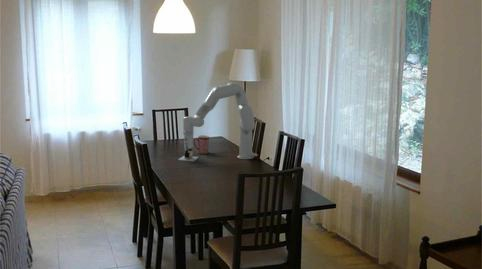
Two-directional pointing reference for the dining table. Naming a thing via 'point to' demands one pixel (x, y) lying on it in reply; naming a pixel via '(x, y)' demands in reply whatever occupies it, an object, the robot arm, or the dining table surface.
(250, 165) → the dining table surface
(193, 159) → the pad
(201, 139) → the mug
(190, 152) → the maple block
